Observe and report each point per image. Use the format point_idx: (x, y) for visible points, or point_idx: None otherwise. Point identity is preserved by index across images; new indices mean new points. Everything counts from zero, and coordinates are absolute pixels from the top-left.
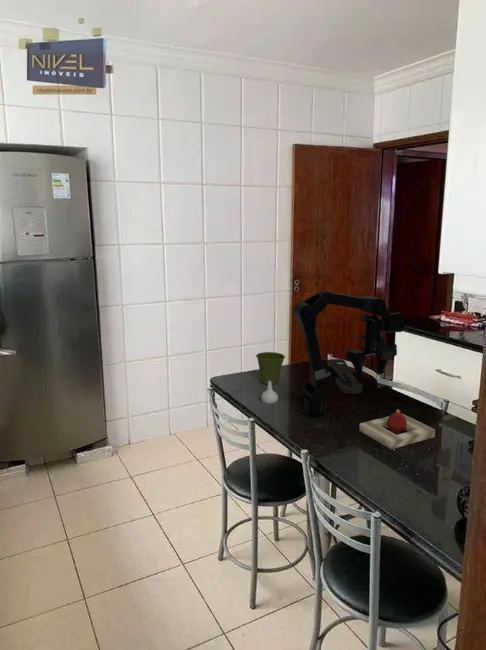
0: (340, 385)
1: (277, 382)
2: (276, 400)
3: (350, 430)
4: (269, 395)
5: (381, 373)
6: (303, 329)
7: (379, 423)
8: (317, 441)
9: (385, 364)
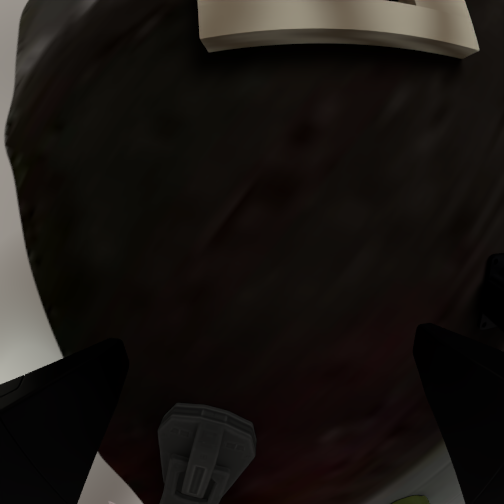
0: (252, 459)
1: (397, 502)
2: None
3: (487, 82)
4: None
5: (106, 343)
6: None
7: (395, 2)
8: None
9: (8, 386)
